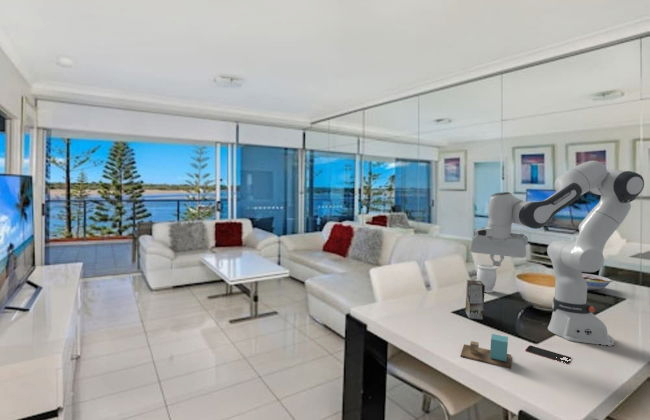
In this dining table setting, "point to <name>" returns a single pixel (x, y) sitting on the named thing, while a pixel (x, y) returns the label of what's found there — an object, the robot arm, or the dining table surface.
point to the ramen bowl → (595, 281)
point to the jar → (487, 276)
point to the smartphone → (547, 354)
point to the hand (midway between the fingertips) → (496, 265)
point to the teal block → (499, 347)
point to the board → (483, 355)
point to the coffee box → (475, 299)
